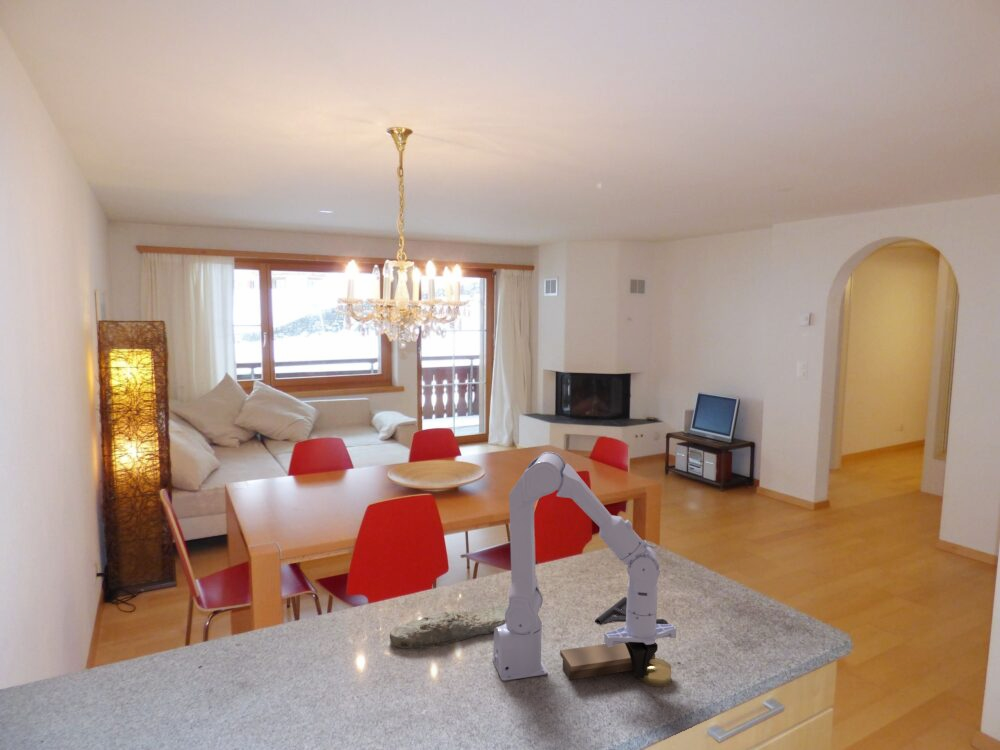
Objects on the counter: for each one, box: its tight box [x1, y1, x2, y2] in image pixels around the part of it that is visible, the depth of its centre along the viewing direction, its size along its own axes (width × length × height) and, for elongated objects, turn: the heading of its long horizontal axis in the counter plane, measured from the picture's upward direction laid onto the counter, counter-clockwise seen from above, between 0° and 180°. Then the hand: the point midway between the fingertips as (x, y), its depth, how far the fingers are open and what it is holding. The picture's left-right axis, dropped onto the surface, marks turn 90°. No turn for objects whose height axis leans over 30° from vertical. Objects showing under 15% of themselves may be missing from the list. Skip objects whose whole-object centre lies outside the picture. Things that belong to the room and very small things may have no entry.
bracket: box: [594, 596, 669, 625], centre depth 145 cm, size 14×15×3 cm
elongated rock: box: [389, 604, 509, 649], centre depth 139 cm, size 35×5×10 cm
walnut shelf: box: [559, 643, 656, 680], centre depth 124 cm, size 18×6×4 cm, turn 105°
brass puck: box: [640, 657, 672, 688], centre depth 122 cm, size 6×6×2 cm
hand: (638, 675), depth 120 cm, fingers closed
